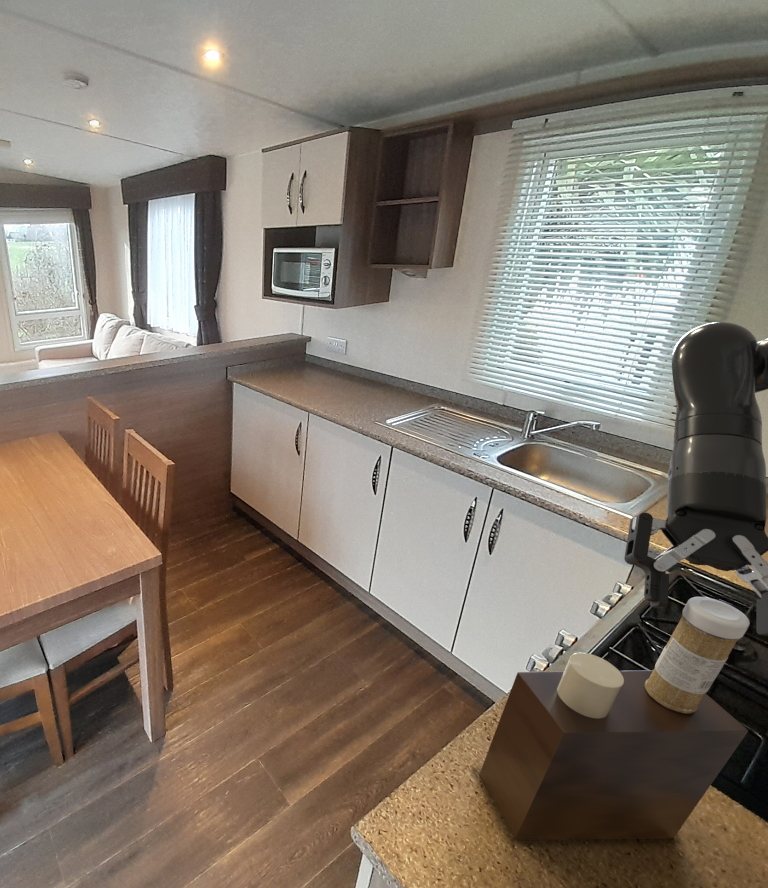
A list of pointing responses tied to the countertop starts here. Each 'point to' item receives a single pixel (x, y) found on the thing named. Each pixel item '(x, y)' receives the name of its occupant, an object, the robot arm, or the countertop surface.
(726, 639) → the sprinkles bottle
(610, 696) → the cream squat cylinder
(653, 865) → the countertop surface
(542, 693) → the block
